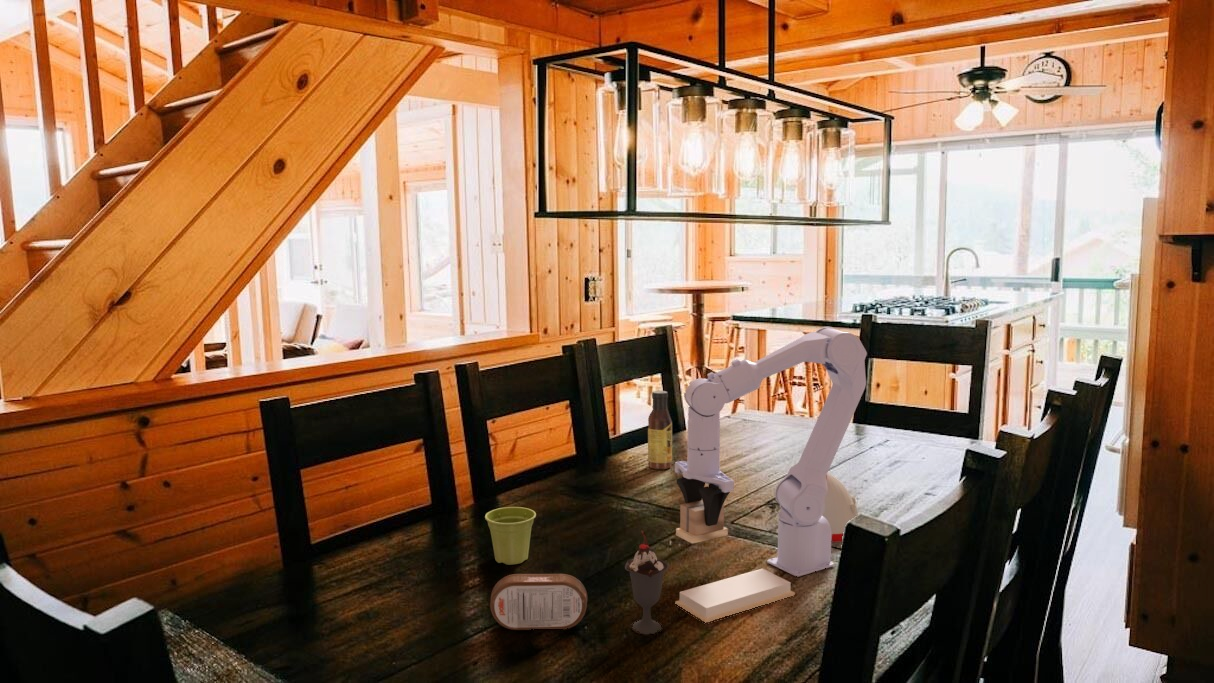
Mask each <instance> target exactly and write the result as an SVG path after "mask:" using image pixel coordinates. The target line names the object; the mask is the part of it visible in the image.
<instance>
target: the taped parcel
mask: <svg viewBox="0 0 1214 683" xmlns="http://www.w3.org/2000/svg"><path fill="white" fill-rule="evenodd" d="M679 512H680V514H679V515H680V517H679V519H680V522H679V523H680V524H679V525H680V526H679V527H677V528H675V536H677V537H679V538H681V539H682V540H684V541H686V542H688V543H690V544H696V543H701V542H705V541H709V540H713V539H717V538H721V537H725V536H728V535H729V530H728V527H725V526H724V524H725V523H724V522H725V521H724V520H725V505H724V504H723V506H722V508H721V511H720V515H719V519H718V522H717V524H716V525H712V526H707V525H706V523H705V515H704V504H703V500H700V501H696V502H691V503H682V504H680V511H679Z"/></svg>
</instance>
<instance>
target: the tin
mask: <svg viewBox="0 0 1214 683" xmlns="http://www.w3.org/2000/svg"><path fill="white" fill-rule="evenodd" d="M587 603H588V593H587V590H586V587H585V586H584V584H583V582H581V581H580V580H579V579H578V578H576V577H575V576H573V575H570V574H566V573H514V574H509V575H507V576H504V577H503V578H501V579H500V580H498V581H497V583H495V585H494V586H493V588H492V591H491V593H490V603H489V604H490V611H491V615H492V617H493V619H494V620H495V621H496V622H497V623H498V624H499V625H500V626H501V627H503V628H505V629H508V630H512V631H535V630H534V629H563V630H568V629H571V628H573V627H575V626H577V625H578V623H580V622H581V621H582V620H583V618H584V616H585V615H586V611H587V607H588V604H587ZM567 628H568V629H567ZM531 629H533V630H531Z"/></svg>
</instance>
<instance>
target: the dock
mask: <svg viewBox="0 0 1214 683" xmlns="http://www.w3.org/2000/svg"><path fill="white" fill-rule="evenodd" d="M791 584H792V582H790V581H788V580H787V579H785V578H783V577H781V576H779V575H776V574H775V573H773V572H770V571H769V570H767V569H765V568H759V569H756V570H751V571H749V572H745V573H742V574H737V575H734V576H731V577H728V578H724V579H721V580H716V581H713V582H710V583H706V584H703V585H699V586H696V587H692V588H689V589H685V590H683V591H679V599H678V600H675V601H674V602H675V603H674V604H677V605H678V606H680V607H682V608H683V609H685V610H686V611H688V612H690V613H691V614H693V615H695V616H696V617H698V618H700V619H701V620H702V621H704V622H705V623H706V622H710V621H713V620H715V619H719V618H722V617H725V616H729V615H732V614H735V613H739V612H742V611H745V610H749V609H752V608H755V607H758V606H761V605H765V604H768V605H770V604H769V603H771V602H774V603H776V602H775V601H777V600H780V599H783V600H785V599H784V598H787V597H789V596H793V595H795V594H796V592H794V591H792V590H791V588H792V587H791V586H792V585H791ZM793 597H794V596H793ZM787 599H788V598H787ZM780 601H781V600H780ZM777 602H778V601H777ZM771 604H772V603H771ZM678 606H677V607H678ZM765 606H766V605H765ZM761 607H762V606H761ZM758 608H759V607H758ZM683 609H682V610H683ZM755 609H756V608H755ZM752 610H753V609H752ZM686 611H685V612H686ZM749 611H750V610H749ZM742 613H743V612H742ZM739 614H740V613H739ZM705 623H704V624H705Z"/></svg>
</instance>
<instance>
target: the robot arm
mask: <svg viewBox="0 0 1214 683" xmlns="http://www.w3.org/2000/svg"><path fill="white" fill-rule="evenodd" d="M867 355H868V353H867V350H866V348H865V347H864V345H863V343H862V341H861V340H860V338H859V337H858V336H857V335H855V334H854V333H851V332H847V331H846V332H845V331H841V330H839V329H836V328H835V327H832V326H824V327H821V328H818V329H817V330H815V331H810V332H808V333H805V334H804V335H803V336H801V337H800V338H797V339H796V340H794V341H791V342H790V343H788V344H786V345H785V346H782V347H780V348H778V349H777V350H774V351H773V352H771V353H769V354H767V355H766V356H764V357H762V358H759V359H757V360H756V361H754V362H753V361H750V360H748V359H742V360H740V359H738V358H737V359H734V360H732V361H730V362H731V365H729V366H727V367H725V368H723V369H721V370H719V371H717V372H712V371H711V372H709V373H707V378H702V377H700V378H696V379H694V380H692V381H691V382H690V383H689V385H688V386H687V387H686V390H685V392H684V393H683V396H684V400H685V402H686V404H687V406H688V412H687V413H688V415H687V416H688V417H687V418H688V419H687V445H686V446H687V447H686V448H687V456H686V457H687V458H686V459H687V461H686V460H681V461H676V462H675V461H674V473H676V474H682V476H681V477H680V478H677V479H676V485H677V486H678V487H679V490H680V491H681V494H682V496H683V500H684V502H685V503H684V504H686V503H691V502H696V501H700V500H703V504H704V515H705V523H706V525H707V526H712V525H716V524H717V522H718V519H719V515H720V511H721V508H722V506H723V505H724V503H725V502H726V499H727V498H728V497H729V495H730V493H731V492H734V491H735V480H734V479H732V478H730V477H729V476H727V475H726V474H725V473H724V472H723V471H721V470H720V462H721V461H720V460H721V459H720V457H721V456H720V454H721V448H720V447H721V422H720V420H721V419H720V416H721V415H720V414H721V411H722V410H723V408H724V407H725V404H729V403H731V402H733V401H735V400H737V399H739V398H742V397H744V396H745V395H748V394H750V393H753V392H755V391H757V390H758V389H759V388H760V387H761V384H762V382H763V380H764V379H766V378H768V377H771V376H773V375H776V374H779V373H780V372H782V371H785V370H787V369H790V368H793V367H794V366H797V365H800V364H803V363H812V364H821V365H822V366H823V367H824V368H825V370H826V372H827V374H828V375H829V376H828V377H829V378H830V380H831V383H832V386H831V387H830V390H829V392H828V394H827V397H826V398H825V399H826V400H825V402H824V404H823V405H822V408H821V411H820V412H819V415H818V417H817V419H816V422H815V424H814V426H813V428H812V431H811V433H810V436H809V438H808V439H807V442H806V444H805V447H804V448H803V452H802V453H801V455H800V458H799V461H798V462H796V464H794V465H793V466H791V467H790V468H789V470H788V472H787V474H786V475H785V477H783V479H781V480H780V481H779V482H778V483H777V486H776V487H775V491H774V497H775V500H776V502H777V504H778V505H779V506H780V511H779V513H778V522H777V524H778V526H777V528H778V530H777V556H775V557H773V558H769V559H767V561H766V562H767V564H770V565H772V566H773V567H775V568H777V569H780V570H782V571H784V572H785V573H788V574H790V575H792V576H794V577H796V576H797V577H802V576H805V575H809V574H811V573H815V571H816V572H819V571H822V570H825V568H826V569H828V568H831V567H834V566H835V563H834V562H832V561H831V559H832V557H831V556H832V542H831V536H832V533H831V527H830V524H829V522H828V521H827V519H826V518H825V517H823V516H822V515H823V513H824V508H825V505H824V500H825V496H826V493H827V491H828V489H827V480H826V475H827V473H828V472H829V471H830V468H831V465H832V464H833V461H834V459H835V456H836V455H837V452H838V450H839V449H840V446H841V443H842V441H843V438H844V436H845V435H846V432H847V430H848V428H849V425H850V423H851V422H852V418H853V417H854V414H855V412H856V409H857V407H858V405H859V403H860V400H861V399H862V398H861V397H862V396H863V394H864V391H865V390H866V386H867V378H866V365H865V364H866V363H865V362H866V361H865V360H866V357H867ZM828 474H829V473H828ZM706 484H708V486H706Z"/></svg>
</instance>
